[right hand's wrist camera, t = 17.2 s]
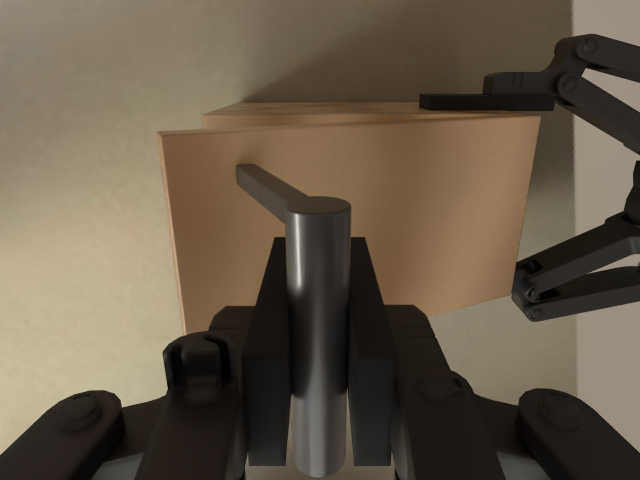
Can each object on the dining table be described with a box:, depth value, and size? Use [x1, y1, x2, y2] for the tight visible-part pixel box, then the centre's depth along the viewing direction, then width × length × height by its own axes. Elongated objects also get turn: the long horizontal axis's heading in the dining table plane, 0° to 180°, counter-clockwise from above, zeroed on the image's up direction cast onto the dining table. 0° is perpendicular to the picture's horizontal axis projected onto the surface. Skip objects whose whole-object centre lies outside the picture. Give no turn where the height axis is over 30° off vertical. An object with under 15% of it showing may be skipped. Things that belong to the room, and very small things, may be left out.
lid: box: [157, 114, 541, 478], centre depth 16 cm, size 17×9×8 cm, turn 90°
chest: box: [202, 102, 522, 129], centre depth 28 cm, size 16×9×10 cm, turn 90°
